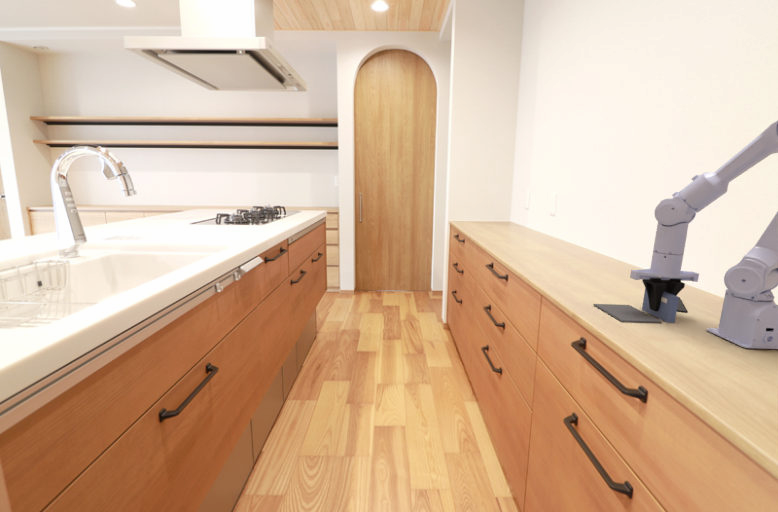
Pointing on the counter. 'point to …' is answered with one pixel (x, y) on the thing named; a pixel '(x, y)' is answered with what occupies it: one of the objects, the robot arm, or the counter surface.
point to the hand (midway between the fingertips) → (658, 310)
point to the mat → (626, 313)
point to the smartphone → (681, 307)
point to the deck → (663, 307)
